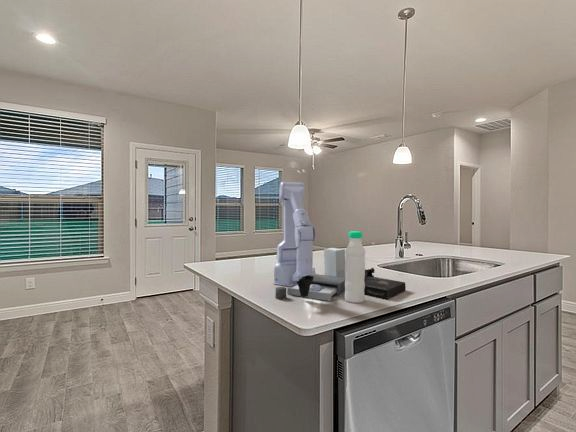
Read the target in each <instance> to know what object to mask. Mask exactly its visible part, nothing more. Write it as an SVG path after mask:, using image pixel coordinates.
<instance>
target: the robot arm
mask: <svg viewBox="0 0 576 432" xmlns="http://www.w3.org/2000/svg"><path fill="white" fill-rule="evenodd" d="M278 187H279V188H278V192H279V193H278V198H279V202H280V203H282V204H283V205H282V206H283V239H282V241H281V242H280V243H278V244H277V249H276V261H277V262H276V264H275V265H274V267H273V268H274V270H273V273H274V274H273V277H274V278H273V283H272V284H273V285H277V286H283V287H290V288H292V287H294V286H296V285H297V284H298V287H299V290H300V295H301V296H300V297H301V298H308V297H307V296H308V293H309V289H310V285H311V283H312V281H313V279H314V277H313V276H310V275H314V274H316V268H315V267H313V265H314V264H313V262H314V261H313V256H314V255H313V251H314V250H313V249H314V247H313V246H314V244H313V243H314V242H315V240H316V229H315V226H314V224H313V223H311V221H310V217H309V214H308V211H307V210H305V209H304V203H303V199H304V197H305V192H306V185H305V184H304V182H303V181H301V182H294V181H291V182H288V181H287V182H284V181H281V182H280V183H279V186H278Z"/></svg>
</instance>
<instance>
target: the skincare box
mask: <svg viewBox="0 0 576 432" xmlns="http://www.w3.org/2000/svg"><path fill="white" fill-rule="evenodd" d="M345 251H346V249H344V248H337V247H329V248H324V249H323V254H324V255H323V258H324V262H323V263H324V275H327V276H336V277H344V278H345V259H346V254H345Z"/></svg>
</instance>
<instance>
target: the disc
mask: <svg viewBox="0 0 576 432" xmlns="http://www.w3.org/2000/svg"><path fill="white" fill-rule="evenodd" d="M309 291H315V292H320V291H321V286H320V285H317V284H311V285H310V289H309Z"/></svg>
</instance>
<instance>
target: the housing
mask: <svg viewBox="0 0 576 432" xmlns="http://www.w3.org/2000/svg"><path fill="white" fill-rule="evenodd" d="M310 276H313V277H314V279H313V281H312V283H311V284H317V285H322V286H329V287H337V288H338V292H336V293H337V296H341V295H342V294H343V293H345V280H346V279H345V278H344V277H336V276H327V275H325V274H317V273H315V274H314V275H310ZM297 285H298V284H297Z"/></svg>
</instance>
